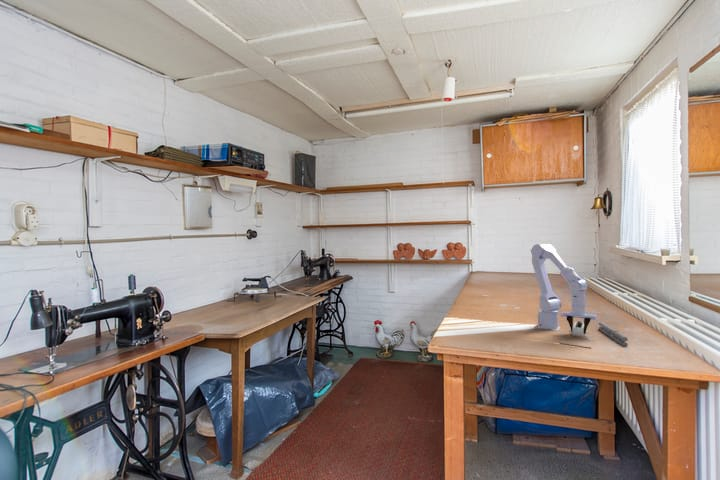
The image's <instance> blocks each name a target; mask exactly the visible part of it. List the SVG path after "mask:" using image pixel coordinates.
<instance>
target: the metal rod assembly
mask: <svg viewBox="0 0 720 480" xmlns="http://www.w3.org/2000/svg"><path fill="white" fill-rule="evenodd" d="M598 325H599V327H598V330H599V331H600V332H602V333H603V334H605V335H606V336H607V337H609V338H611V339H612V340H614V341H615V342H616V343H618V344H620V345H621V346H623V347H628V345H629V344H628V343H627V341H628V339H629V338H628V337H626V336H625V335H624V334H621V333H620V331H618V330H616V329H614V328H612V327H611V326H609V325H608V324H606V323H604V322H602V321H599V322H598Z"/></svg>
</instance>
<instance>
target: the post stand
mask: <svg viewBox="0 0 720 480" xmlns="http://www.w3.org/2000/svg"><path fill="white" fill-rule="evenodd" d="M577 322H578V328H581V322H582V321H577ZM590 331H591V330H589V329H586V334H584V337H579V336H572V332H571V329H570V330H569V333H568V335H567V337H569V338H570V337H572V338H579V339H583V340H584V339H586V340H587V339H589V335H590Z"/></svg>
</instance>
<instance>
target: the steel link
mask: <svg viewBox="0 0 720 480" xmlns="http://www.w3.org/2000/svg"><path fill="white" fill-rule="evenodd" d="M572 336H579V337H584V322H582V321H581V328H578V321H574V322H573V327H572Z"/></svg>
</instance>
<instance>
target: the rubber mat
mask: <svg viewBox="0 0 720 480" xmlns="http://www.w3.org/2000/svg"><path fill="white" fill-rule="evenodd" d="M558 344H559V345H564V346H570V347H577V348H583V349H589V350H591V349H592V347H591V346H590V347H589V346H582V345H577V344H576V345H575V344H570V343H561V342H559V343H558Z"/></svg>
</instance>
